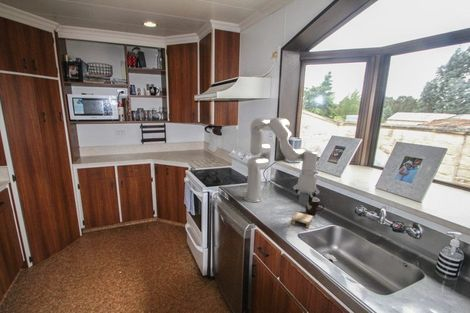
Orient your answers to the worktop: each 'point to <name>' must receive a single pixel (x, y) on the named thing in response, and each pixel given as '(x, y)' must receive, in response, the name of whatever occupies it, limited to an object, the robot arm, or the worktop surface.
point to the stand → (302, 219)
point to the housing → (304, 198)
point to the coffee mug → (313, 207)
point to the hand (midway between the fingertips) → (304, 201)
